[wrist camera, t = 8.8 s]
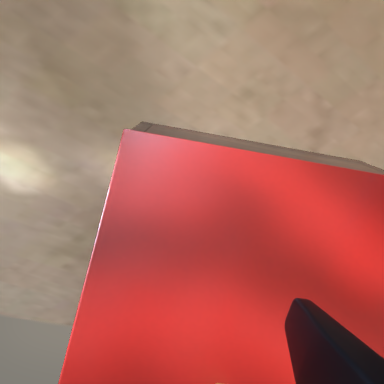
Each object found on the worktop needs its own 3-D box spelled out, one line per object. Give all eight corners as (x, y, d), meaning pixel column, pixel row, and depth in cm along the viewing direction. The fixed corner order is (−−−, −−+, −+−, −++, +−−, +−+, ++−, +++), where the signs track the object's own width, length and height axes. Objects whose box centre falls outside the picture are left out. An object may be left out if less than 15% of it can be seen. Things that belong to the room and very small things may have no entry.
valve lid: (463, 485, 11) (741, 657, 6) (47, 443, 10) (-72, 607, 5) (413, 187, 15) (542, 133, 10) (125, 136, 14) (107, 47, 9)
